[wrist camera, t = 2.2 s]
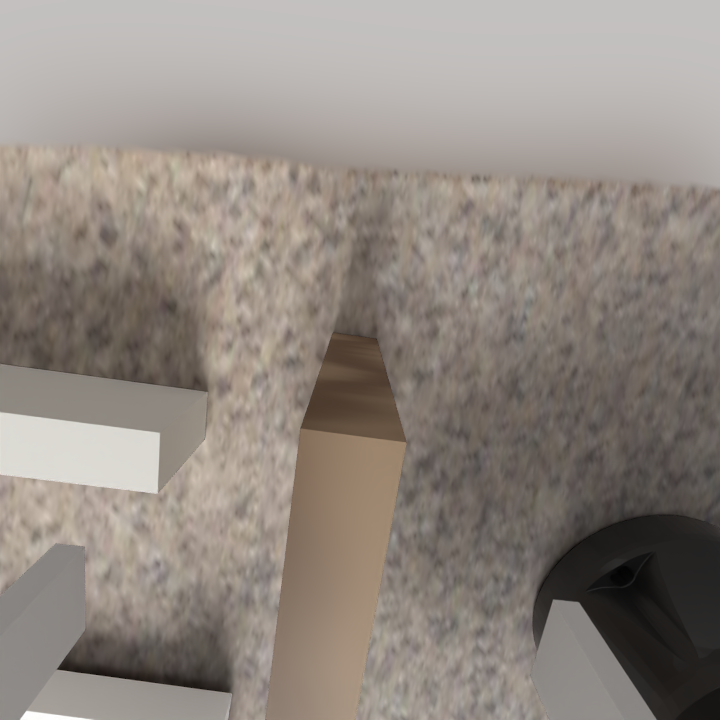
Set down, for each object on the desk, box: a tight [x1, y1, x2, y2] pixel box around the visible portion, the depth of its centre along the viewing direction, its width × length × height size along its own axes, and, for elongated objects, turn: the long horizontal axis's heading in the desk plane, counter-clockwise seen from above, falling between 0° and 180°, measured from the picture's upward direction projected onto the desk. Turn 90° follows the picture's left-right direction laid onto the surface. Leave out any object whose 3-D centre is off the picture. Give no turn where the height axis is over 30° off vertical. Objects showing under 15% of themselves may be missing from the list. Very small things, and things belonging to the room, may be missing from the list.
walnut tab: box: [265, 333, 407, 720], centre depth 18 cm, size 2×12×14 cm, turn 172°
